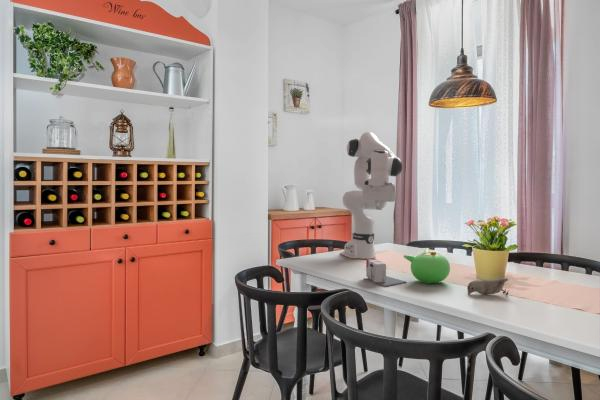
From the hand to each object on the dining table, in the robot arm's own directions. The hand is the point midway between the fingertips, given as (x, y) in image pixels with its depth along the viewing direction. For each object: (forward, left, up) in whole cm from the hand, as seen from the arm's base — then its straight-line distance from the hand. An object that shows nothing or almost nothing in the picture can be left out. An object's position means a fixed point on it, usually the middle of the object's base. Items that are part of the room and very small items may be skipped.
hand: (378, 209), depth 213 cm
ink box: (+9, -13, -26) cm, 31 cm away
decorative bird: (+55, +9, -32) cm, 64 cm away
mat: (+18, -12, -31) cm, 38 cm away
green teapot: (+29, +4, -31) cm, 43 cm away
